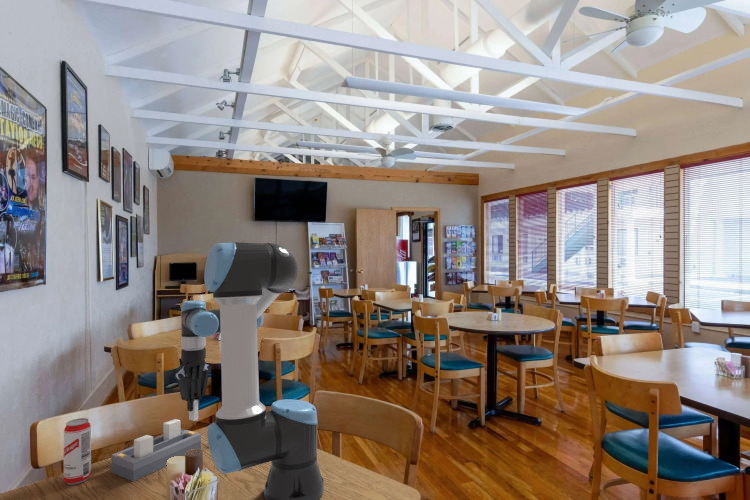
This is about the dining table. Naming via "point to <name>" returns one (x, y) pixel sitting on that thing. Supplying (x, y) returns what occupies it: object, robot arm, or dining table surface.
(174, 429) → the tab
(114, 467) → the switch bank
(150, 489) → the dining table surface
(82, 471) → the beer can
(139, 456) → the tab
